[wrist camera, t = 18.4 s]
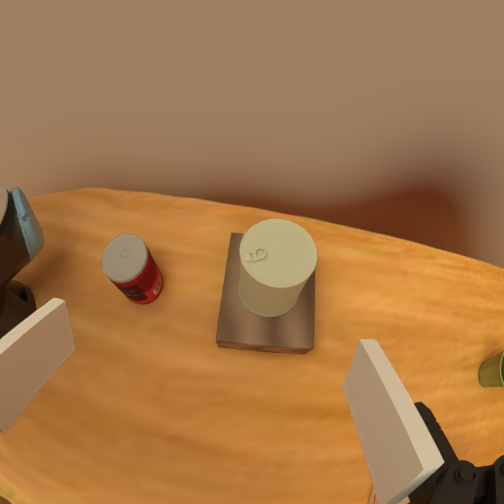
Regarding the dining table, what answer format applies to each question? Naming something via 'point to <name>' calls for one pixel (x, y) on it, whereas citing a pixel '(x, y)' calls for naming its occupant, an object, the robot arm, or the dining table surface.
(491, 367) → the plant pot
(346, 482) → the dining table surface
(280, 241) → the can
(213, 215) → the dining table surface
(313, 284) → the walnut riser
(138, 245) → the canned food
